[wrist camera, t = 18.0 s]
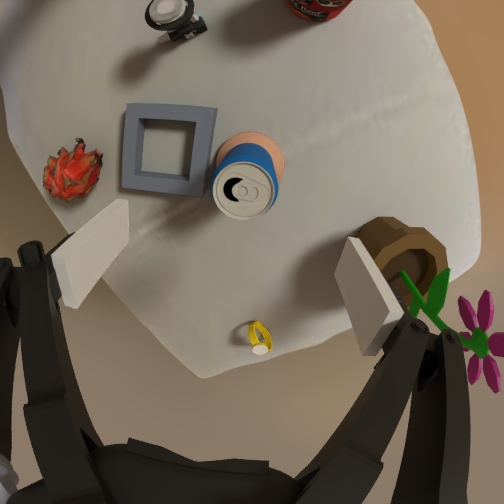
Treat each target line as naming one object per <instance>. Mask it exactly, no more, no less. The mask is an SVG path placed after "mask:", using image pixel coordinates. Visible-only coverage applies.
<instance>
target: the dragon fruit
mask: <svg viewBox="0 0 504 504" xmlns="http://www.w3.org/2000/svg"><path fill="white" fill-rule="evenodd" d="M75 140H76V141H77V142H78V144H77V145H76V146H75V148H74V151H73V152H72V151H71V152H69V153H68V152H67V150H66V149H65V148H64V147H62V148H61V150H59V151H58V155H59V158H55V157H52V156H49V158H48V161H47V163H48V166H46V167H45V168H44V175H43V180H44V181H43V183H44V184H43V186H44V188H45V189H48V190H49V192H50V195H51V196H53V197H56V196H59V197H60V199H61V200H63V199H64V200H66V201H67V202H70V201H71V200H73V199H75V198H79V197H80V198H83V197H85V196H86V195H87V194H88V192H89V191H90V190H91V188H92V187H93V186H94V185H95V184H96V183H97V181H98V180H99V178H98V176H99V174H100V169H101V167H102V164H103V163H102V157H103V153H102V154H101V153H100V152H99V151H98V150H97V149H96V150H95V151H91V152H89V153H87V154H85V153H84V149H85V146H86V144H85V143H84V141H83V139H81V138H76V139H75Z"/></svg>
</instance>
